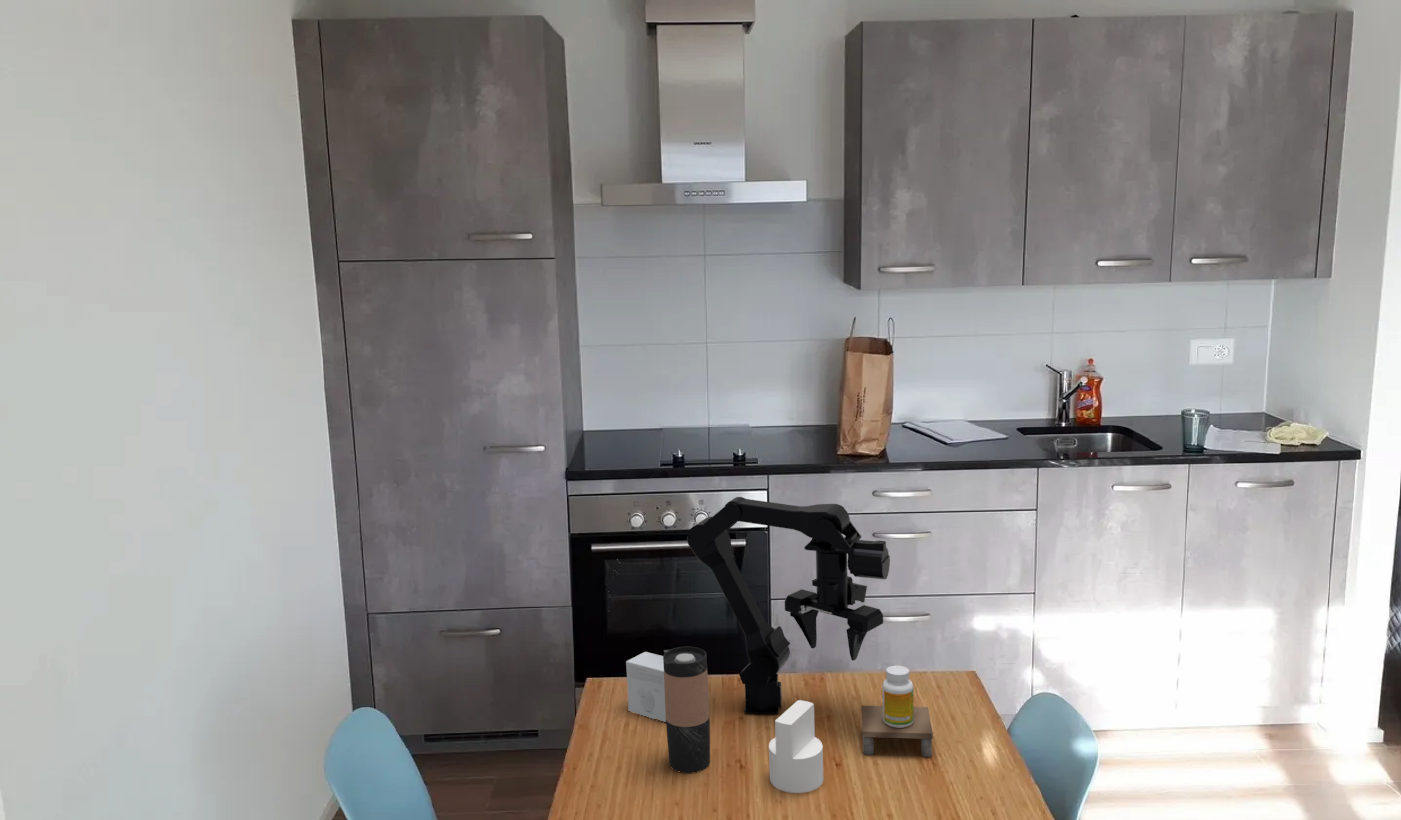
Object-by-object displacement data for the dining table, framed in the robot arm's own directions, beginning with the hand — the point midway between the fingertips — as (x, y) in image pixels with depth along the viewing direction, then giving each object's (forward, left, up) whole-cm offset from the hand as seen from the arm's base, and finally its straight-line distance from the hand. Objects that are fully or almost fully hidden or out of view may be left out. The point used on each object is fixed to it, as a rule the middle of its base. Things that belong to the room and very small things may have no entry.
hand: (833, 653), depth 188 cm
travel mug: (-25, -18, -13) cm, 34 cm away
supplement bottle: (+11, -9, -9) cm, 17 cm away
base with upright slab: (-6, -22, -13) cm, 26 cm away
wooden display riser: (+11, -8, -13) cm, 19 cm away
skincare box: (-34, +1, -13) cm, 37 cm away
